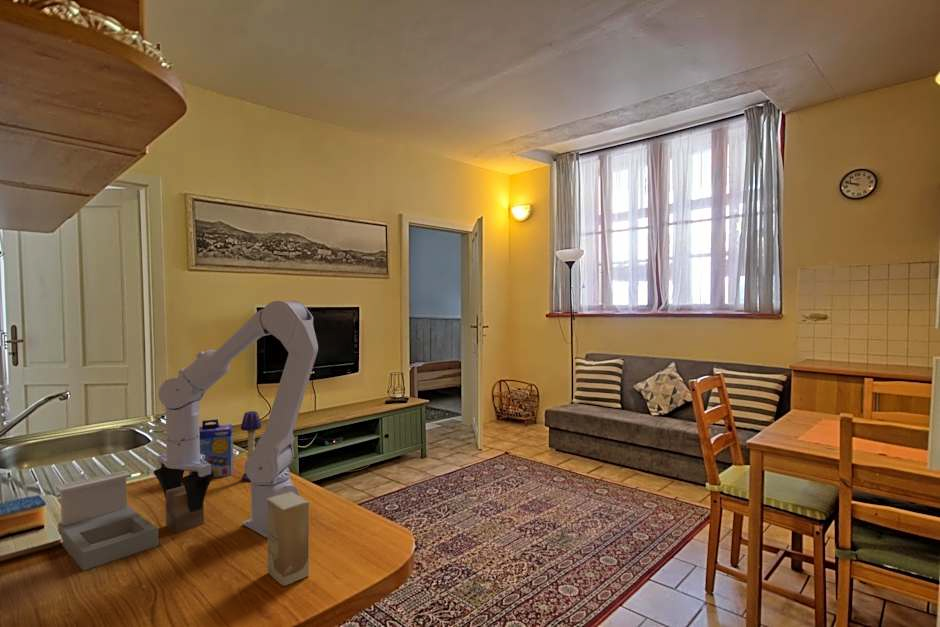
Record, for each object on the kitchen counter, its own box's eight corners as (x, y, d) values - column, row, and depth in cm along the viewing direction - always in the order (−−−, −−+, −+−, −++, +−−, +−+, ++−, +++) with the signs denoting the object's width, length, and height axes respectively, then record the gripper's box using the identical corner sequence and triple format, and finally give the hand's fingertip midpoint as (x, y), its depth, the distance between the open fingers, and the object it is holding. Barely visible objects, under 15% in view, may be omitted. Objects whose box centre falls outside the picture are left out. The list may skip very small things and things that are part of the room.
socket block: (158, 545, 90) (157, 490, 90) (83, 570, 82) (81, 510, 82) (126, 519, 102) (125, 470, 101) (57, 539, 93) (56, 486, 93)
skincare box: (266, 572, 81) (265, 497, 81) (292, 562, 84) (291, 490, 84) (284, 588, 76) (282, 508, 76) (310, 577, 79) (309, 500, 79)
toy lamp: (265, 475, 127) (264, 410, 126) (256, 482, 122) (254, 414, 122) (247, 475, 127) (246, 410, 127) (237, 482, 123) (236, 414, 122)
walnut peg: (203, 524, 99) (203, 489, 99) (176, 533, 95) (175, 496, 95) (193, 517, 102) (192, 483, 102) (166, 525, 99) (165, 490, 99)
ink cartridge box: (188, 481, 123) (186, 423, 123) (191, 474, 129) (189, 418, 128) (232, 475, 127) (231, 419, 127) (233, 469, 132) (232, 414, 132)
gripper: (224, 437, 99) (226, 506, 99) (181, 428, 106) (182, 492, 106) (189, 446, 92) (191, 519, 93) (146, 436, 100) (147, 504, 100)
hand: (184, 506), depth 99 cm, fingers open, 7 cm apart
